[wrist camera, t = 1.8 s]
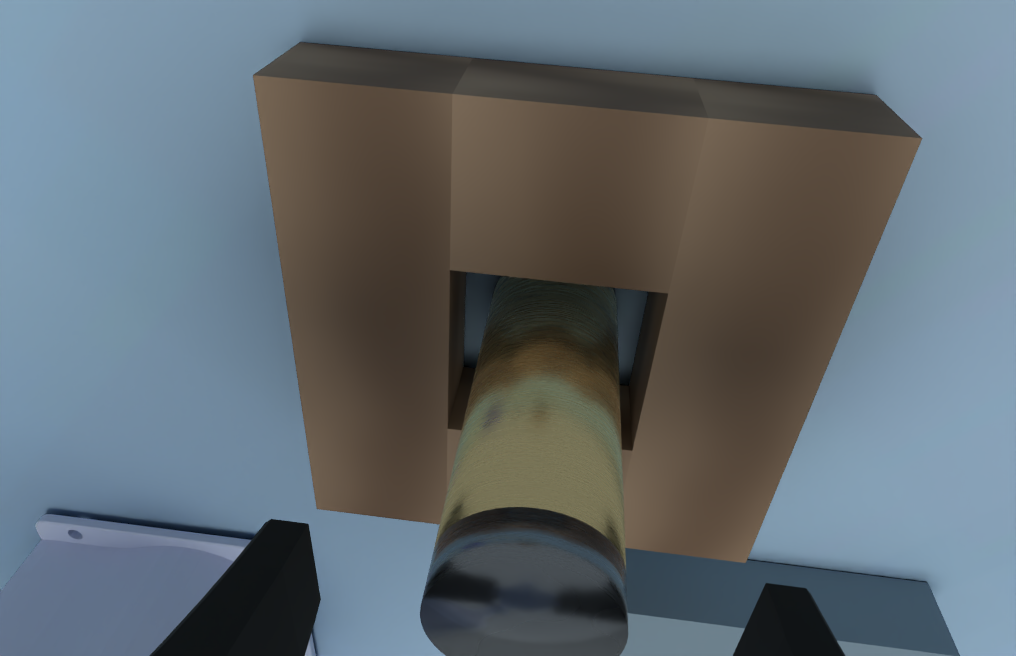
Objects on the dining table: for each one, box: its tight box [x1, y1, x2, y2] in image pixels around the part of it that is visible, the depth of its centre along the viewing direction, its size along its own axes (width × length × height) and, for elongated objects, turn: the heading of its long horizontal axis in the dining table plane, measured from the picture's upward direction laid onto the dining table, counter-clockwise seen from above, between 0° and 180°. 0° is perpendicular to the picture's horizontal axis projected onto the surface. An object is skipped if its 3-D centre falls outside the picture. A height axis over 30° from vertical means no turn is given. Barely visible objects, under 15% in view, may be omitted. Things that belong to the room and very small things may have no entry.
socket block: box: [253, 42, 922, 563], centre depth 17 cm, size 12×12×2 cm
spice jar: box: [420, 276, 628, 656], centre depth 14 cm, size 3×3×9 cm
